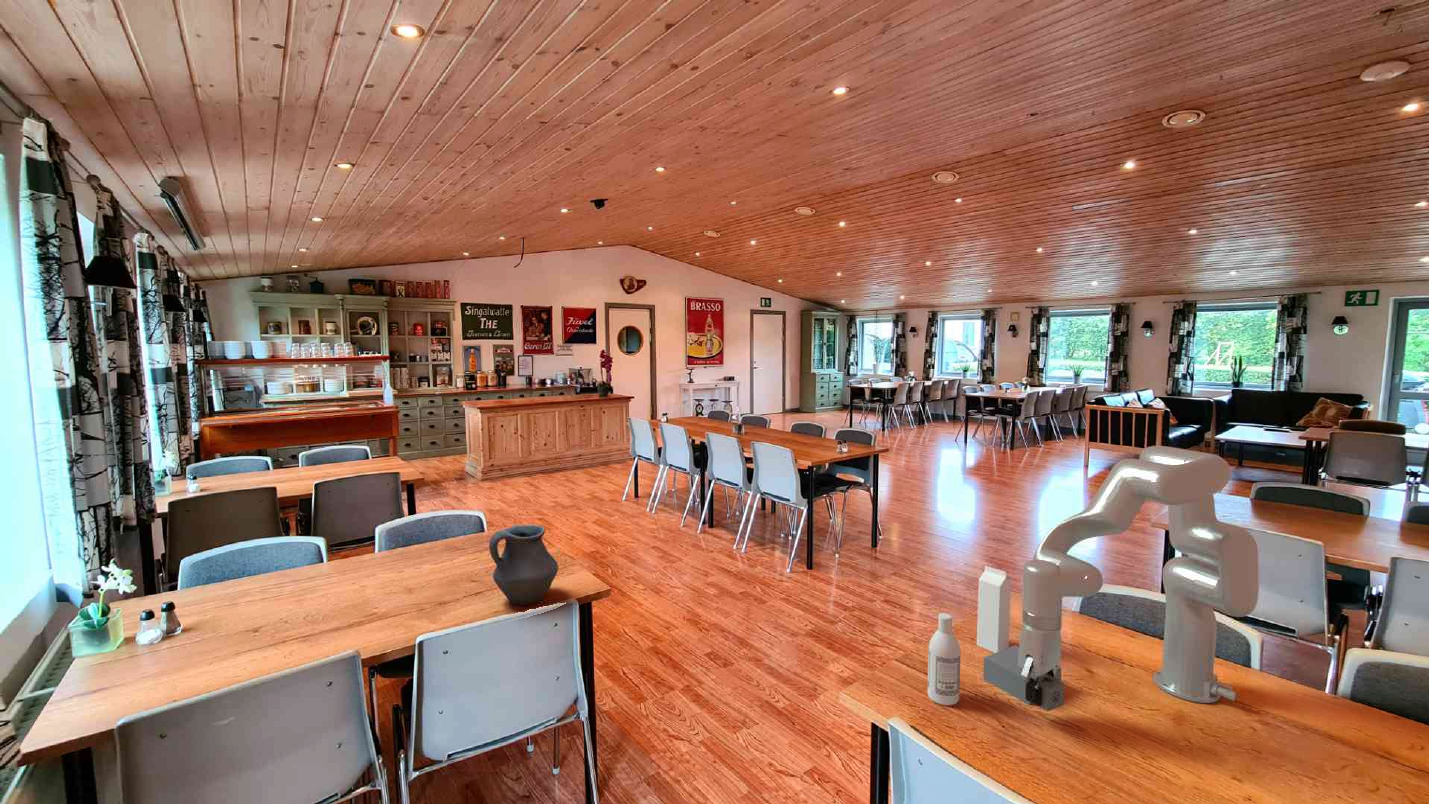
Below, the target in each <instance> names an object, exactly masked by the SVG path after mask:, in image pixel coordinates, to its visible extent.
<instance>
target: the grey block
mask: <svg viewBox="0 0 1429 804" xmlns="http://www.w3.org/2000/svg"><path fill="white" fill-rule="evenodd" d="M1018 656H1019V646H1017V645H1012V646H1010V647H1008V648H1007V649H1004V650H1002V651H999V652H997V653H994V652H993V653H992V654H989V655H987V656H984V657H983V675H982V677H983V679H984V680H983V679H982V680H983V681H985V680H986V681H985V682H987V683H988V682H989V684H990V685H992V684H993V685H992V686H994V687H995V688H997V687H998V689H999V690H1001V691H1003V692H1005V693H1007V694H1008V695H1011V696H1012V697H1014V698H1016V699H1018V700H1019V701H1021V702H1022V703H1025V704H1027V705H1028V706H1030V705H1033V704H1034V703H1031V702H1029V701H1027V700H1026V684H1025V681H1024V680H1023V679H1022V678H1021V673H1022V670H1023V669H1020V668H1019V667H1018ZM1032 670H1033V671H1035V669H1034V668H1033V669H1032ZM1056 670H1057V675H1056V677H1055V678H1056V679H1057V680H1059V681H1061V680H1062V666H1060V665H1058V666H1057V667H1056ZM1035 672H1036V671H1035ZM1032 675H1033V674H1031V676H1032ZM1061 682H1062V681H1061Z"/></svg>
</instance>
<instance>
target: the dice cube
mask: <svg viewBox="0 0 1429 804" xmlns="http://www.w3.org/2000/svg"><path fill="white" fill-rule="evenodd" d="M1036 677H1037V676H1035V675H1032V676H1031V678H1033V679H1034V680H1035V681H1036ZM1040 688H1042V705H1041V706H1038V707H1040V708H1041V709H1043V710H1044V711H1045V712H1050V711H1053V710H1054V709H1055V710H1056V709H1057V708H1060V707H1063V706H1065V705H1064V704H1065V700H1064V699H1065V682H1063V681H1059V680H1057V679H1056V678H1054V677H1052V676H1050V675H1048V674H1047V673H1046V674H1044V675H1042V678H1041V683H1040Z"/></svg>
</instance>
